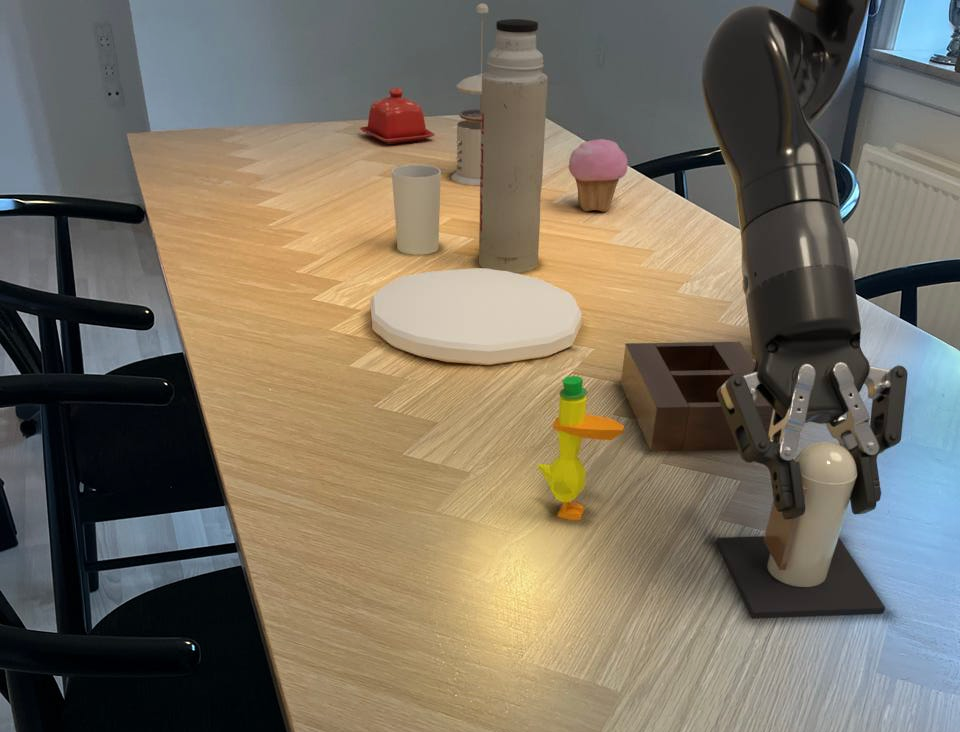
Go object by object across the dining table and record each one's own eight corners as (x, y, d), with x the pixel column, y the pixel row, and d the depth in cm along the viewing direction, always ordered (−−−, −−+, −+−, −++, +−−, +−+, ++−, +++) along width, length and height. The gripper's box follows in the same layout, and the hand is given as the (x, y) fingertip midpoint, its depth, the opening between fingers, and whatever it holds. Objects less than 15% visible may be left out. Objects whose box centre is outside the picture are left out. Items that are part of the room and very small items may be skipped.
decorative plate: (618, 316, 107) (397, 339, 101) (614, 352, 109) (398, 377, 103) (539, 246, 125) (348, 262, 119) (537, 279, 128) (350, 296, 122)
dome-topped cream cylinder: (814, 553, 77) (850, 430, 71) (835, 586, 74) (874, 460, 67) (758, 555, 77) (788, 431, 70) (776, 588, 74) (809, 462, 67)
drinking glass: (435, 239, 140) (434, 163, 134) (446, 253, 135) (446, 176, 129) (390, 242, 138) (386, 165, 132) (399, 257, 133) (396, 178, 127)
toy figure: (615, 509, 83) (631, 376, 76) (609, 531, 81) (625, 395, 73) (537, 498, 84) (545, 366, 77) (529, 520, 82) (536, 385, 74)
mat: (835, 539, 80) (836, 533, 80) (883, 614, 72) (885, 607, 72) (715, 543, 79) (717, 537, 79) (751, 618, 72) (753, 612, 71)
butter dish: (438, 141, 186) (437, 91, 181) (384, 148, 181) (382, 96, 176) (409, 129, 194) (408, 80, 188) (357, 135, 189) (354, 85, 183)
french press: (441, 181, 164) (440, 4, 148) (468, 165, 172) (470, -3, 157) (495, 188, 161) (500, 9, 146) (520, 172, 170) (527, 1, 154)
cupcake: (619, 202, 156) (627, 133, 150) (625, 218, 149) (632, 147, 143) (564, 201, 156) (568, 132, 150) (566, 217, 149) (571, 145, 143)
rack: (732, 382, 104) (739, 341, 101) (775, 449, 92) (785, 404, 89) (620, 384, 103) (625, 343, 100) (650, 452, 91) (656, 407, 89)
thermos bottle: (471, 269, 130) (473, 22, 112) (488, 251, 136) (494, 14, 118) (528, 276, 128) (540, 26, 111) (544, 258, 134) (558, 18, 116)
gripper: (724, 264, 66) (756, 509, 65) (918, 256, 68) (954, 494, 67) (686, 312, 74) (715, 533, 72) (863, 304, 76) (894, 519, 74)
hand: (830, 513), depth 70 cm, fingers closed on dome-topped cream cylinder, 4 cm apart
